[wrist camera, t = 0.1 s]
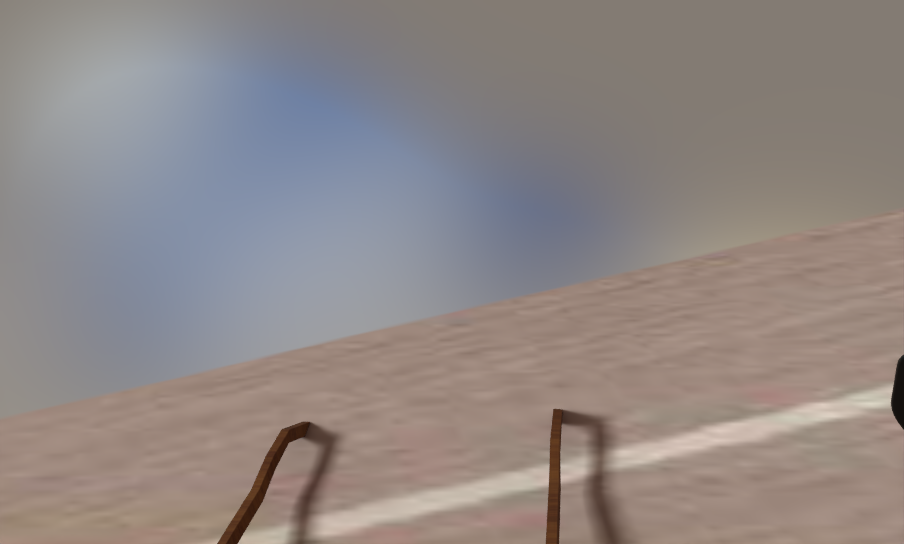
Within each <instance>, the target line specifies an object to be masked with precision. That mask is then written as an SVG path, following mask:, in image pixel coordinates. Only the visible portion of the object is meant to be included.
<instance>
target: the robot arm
mask: <svg viewBox="0 0 904 544" xmlns="http://www.w3.org/2000/svg"><path fill="white" fill-rule="evenodd" d="M891 407H892V411H893V414H894V416H895V418H896V420H897V421H898V423H899V424H900V426H901V427H902V428H903V429H904V355H903V356H901V358H900V359H899V360H898V363H897V368H896V374H895V380H894V386H893V392H892V398H891Z"/></svg>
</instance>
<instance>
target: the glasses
mask: <svg viewBox="0 0 904 544" xmlns="http://www.w3.org/2000/svg"><path fill="white" fill-rule="evenodd" d="M562 411H563V410H561V409H554V410H553V419H552V429H551V438H550V472H549V494H548V513H547V532H546V544H559V526H560V493H561V484H560V446H561V425H562ZM309 423H310V422H301V423H298V424H295V425H292V426H290V427H287V428H284V429H282V430H281V432H280V433H279V435H278V437H277V438H276V440H275V442H274V443H273V445H272V447H271V448H270V450H269V452H268V453H267V455H266V457H265V459H264V462H263V464H262V466H261V468H260V471H259V473H258V475H257V478H256V480H255V482H254V484H253V487H252V489H251V491H250V493H249V494H248V496H247V497H246V499H245V500H244V502H243V504H242V505H241V507H240V508H239V510H238V512H237V513H236V515H235V516H234V518H233V519H232V521H231V523H230V524H229V526H228V527H227V529H226V531H225V532H224V534H223V535H222V537H221V539H220V540H219V542H218V543H217V544H238V542H239V540H240V538H241V537H242V535H243V533H244V532H245V530H246V528H247V527H248V525H249V523H250V522H251V520H252V518H253V517H254V515H255V513H256V512H257V510H258V508H259V507H260V505H261V503H262V502H263V499H264V497H265V494H266V491H267V489H268V486H269V484H270V481H271V479H272V476H273V474H274V471H275V469H276V467H277V465H278V463H279V461H280V459H281V457H282V455H283V453H284V451H285V449H286V447H287V445H288V443H289V442H292V441H294V440H297V439H299V438H301V437H304V436H305V434H306V432H307V429H308V426H309Z"/></svg>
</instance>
